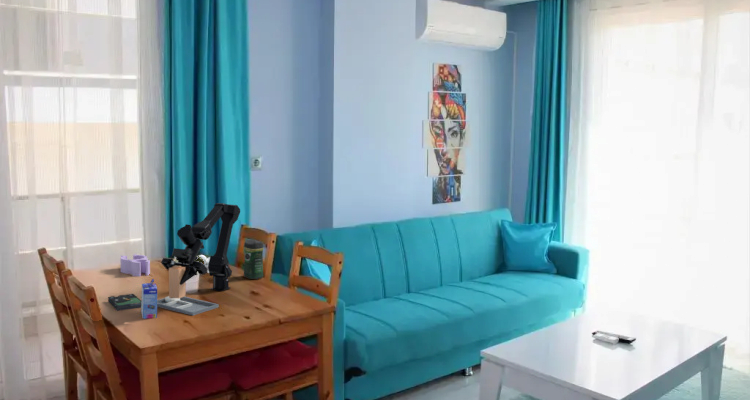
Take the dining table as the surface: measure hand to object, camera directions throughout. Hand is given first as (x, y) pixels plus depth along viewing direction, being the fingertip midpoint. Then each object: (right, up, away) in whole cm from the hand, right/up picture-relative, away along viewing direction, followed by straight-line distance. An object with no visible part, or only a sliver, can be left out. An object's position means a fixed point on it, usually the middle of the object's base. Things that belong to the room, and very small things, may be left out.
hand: (175, 283), depth 259 cm
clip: (-38, -2, +60) cm, 71 cm away
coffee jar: (+21, -5, +57) cm, 61 cm away
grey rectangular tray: (+3, -10, +3) cm, 11 cm away
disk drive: (-22, -10, +5) cm, 25 cm away
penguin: (-3, -3, +67) cm, 67 cm away
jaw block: (0, -6, +2) cm, 6 cm away
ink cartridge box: (-7, -12, -9) cm, 17 cm away
